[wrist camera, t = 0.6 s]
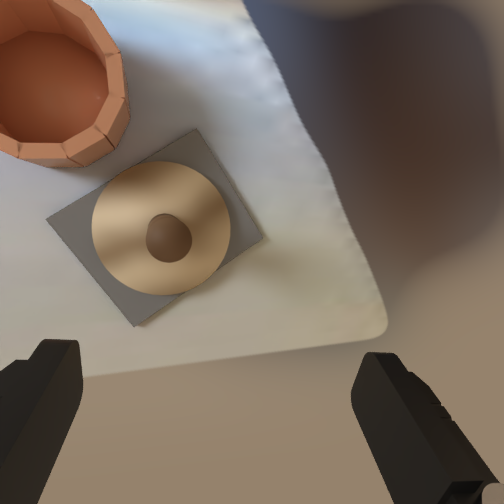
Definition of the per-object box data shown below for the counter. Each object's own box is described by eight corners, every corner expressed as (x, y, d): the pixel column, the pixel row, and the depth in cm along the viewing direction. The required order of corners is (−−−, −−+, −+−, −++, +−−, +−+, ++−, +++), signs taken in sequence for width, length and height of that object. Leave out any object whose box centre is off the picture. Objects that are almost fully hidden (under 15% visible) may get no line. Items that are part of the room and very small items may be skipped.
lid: (61, 209, 27) (22, 213, 19) (182, 136, 29) (194, 111, 21) (147, 317, 31) (145, 360, 22) (251, 246, 33) (284, 261, 24)
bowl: (-61, 63, 24) (-126, 21, 19) (73, -2, 26) (50, -59, 20) (42, 192, 27) (13, 190, 22) (155, 126, 29) (155, 108, 23)
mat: (47, 218, 28) (45, 219, 27) (195, 129, 30) (196, 128, 30) (134, 324, 31) (133, 327, 31) (261, 237, 33) (263, 237, 33)
